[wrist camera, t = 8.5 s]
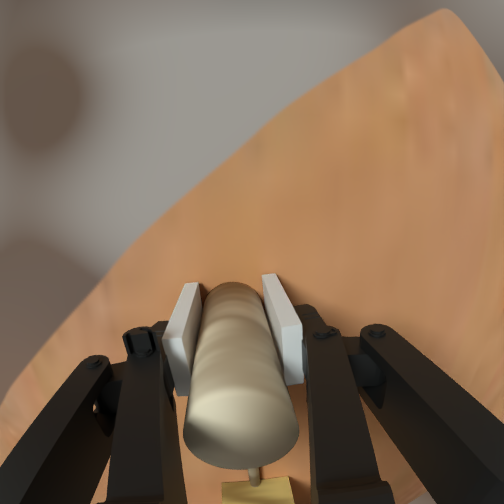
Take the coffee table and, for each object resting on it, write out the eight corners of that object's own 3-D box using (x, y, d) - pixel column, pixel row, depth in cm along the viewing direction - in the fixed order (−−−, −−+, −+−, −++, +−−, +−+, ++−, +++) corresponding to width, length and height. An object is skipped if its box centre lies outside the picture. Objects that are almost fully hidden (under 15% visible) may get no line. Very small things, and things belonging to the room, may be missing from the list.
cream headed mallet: (230, 509, 22) (234, 585, 12) (177, 286, 17) (126, 399, 7) (287, 503, 22) (304, 578, 13) (282, 276, 17) (346, 380, 7)
